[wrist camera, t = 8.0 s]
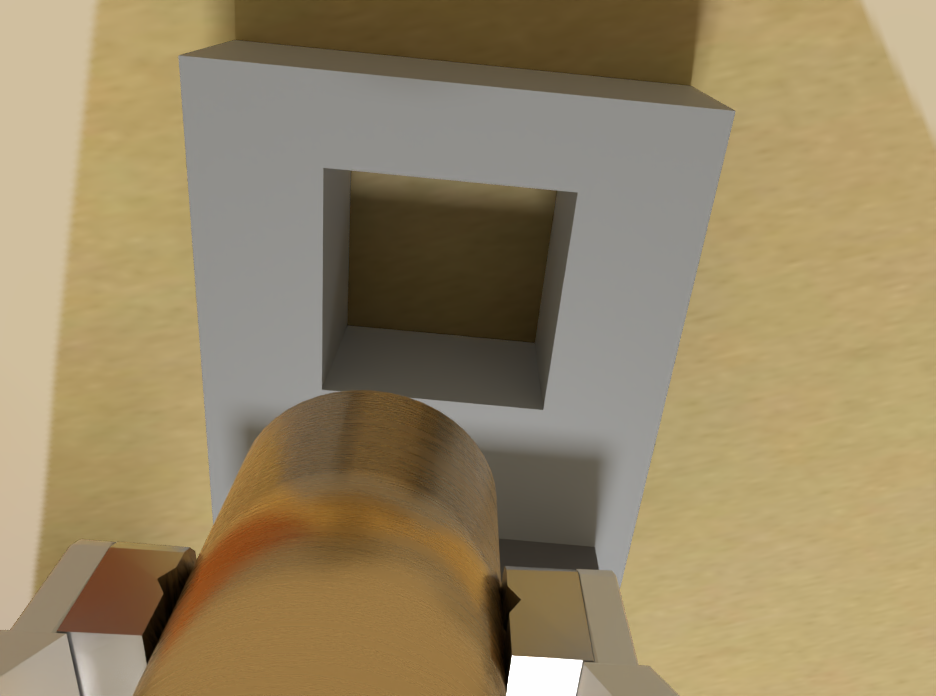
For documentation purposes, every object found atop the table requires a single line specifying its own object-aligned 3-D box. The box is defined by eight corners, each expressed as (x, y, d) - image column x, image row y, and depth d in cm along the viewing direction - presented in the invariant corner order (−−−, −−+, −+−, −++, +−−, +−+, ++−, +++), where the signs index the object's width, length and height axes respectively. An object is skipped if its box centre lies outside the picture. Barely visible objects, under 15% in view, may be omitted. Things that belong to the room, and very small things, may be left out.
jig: (691, 85, 20) (784, 138, 14) (591, 553, 27) (622, 728, 21) (234, 39, 20) (117, 72, 13) (255, 523, 27) (184, 692, 21)
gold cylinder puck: (508, 399, 12) (541, 763, 6) (485, 605, 13) (495, 1026, 8) (231, 381, 11) (18, 737, 6) (246, 592, 13) (92, 1010, 8)
